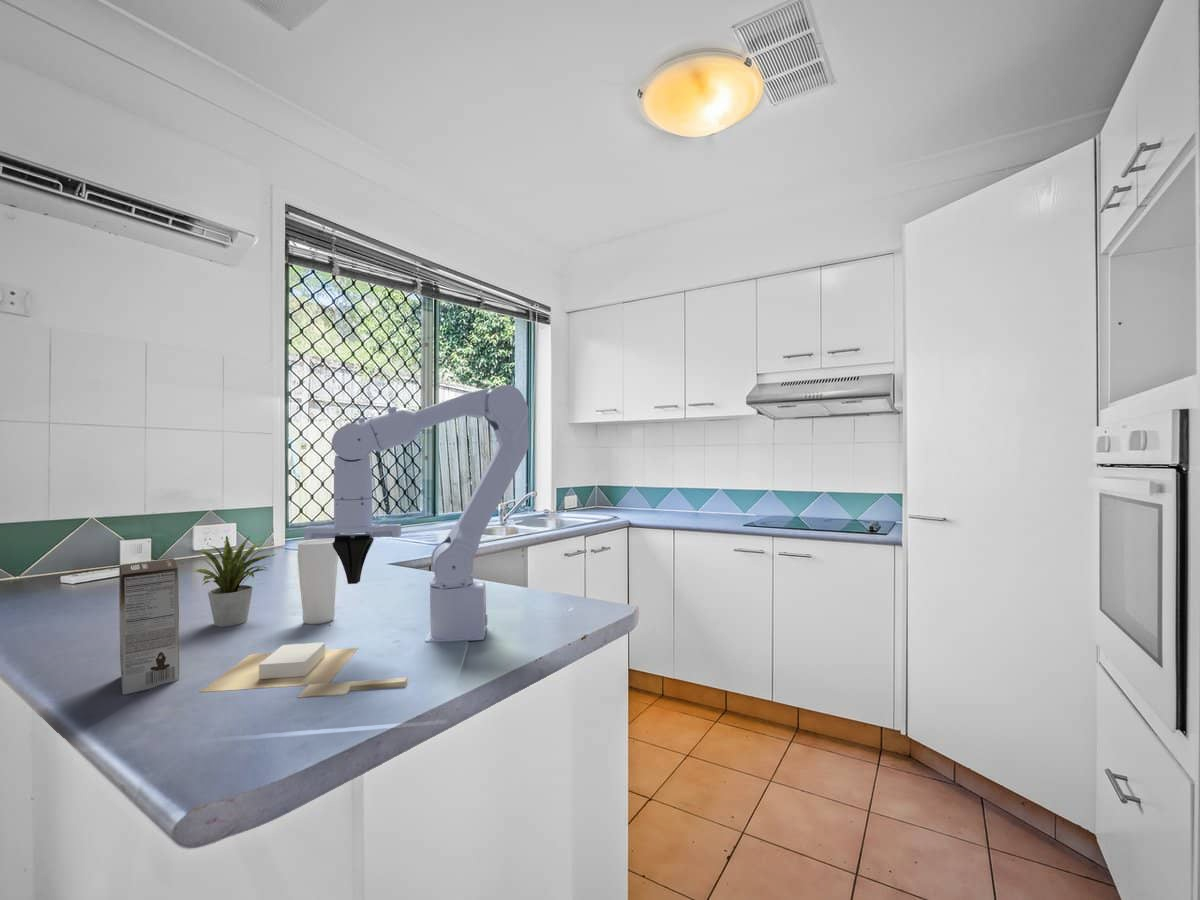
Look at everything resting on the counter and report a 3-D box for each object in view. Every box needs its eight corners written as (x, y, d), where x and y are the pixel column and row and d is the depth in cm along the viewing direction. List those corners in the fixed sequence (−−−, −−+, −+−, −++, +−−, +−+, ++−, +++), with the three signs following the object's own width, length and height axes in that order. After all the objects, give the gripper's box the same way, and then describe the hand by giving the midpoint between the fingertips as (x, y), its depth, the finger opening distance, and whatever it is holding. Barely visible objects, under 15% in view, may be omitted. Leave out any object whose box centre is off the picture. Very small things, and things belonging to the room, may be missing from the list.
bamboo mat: (358, 650, 90) (358, 647, 90) (328, 686, 76) (328, 683, 76) (250, 656, 88) (250, 654, 88) (199, 695, 74) (199, 692, 74)
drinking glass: (307, 616, 109) (306, 539, 109) (344, 615, 110) (343, 538, 110) (291, 627, 103) (290, 544, 103) (330, 626, 103) (329, 543, 103)
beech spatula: (409, 680, 78) (409, 673, 78) (403, 693, 74) (403, 685, 74) (308, 689, 76) (308, 681, 76) (297, 702, 72) (296, 694, 72)
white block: (325, 642, 87) (283, 644, 86) (305, 661, 79) (258, 664, 78) (325, 656, 86) (283, 658, 86) (305, 676, 79) (259, 679, 78)
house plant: (241, 636, 98) (240, 542, 98) (162, 637, 98) (161, 542, 98) (288, 613, 112) (287, 530, 112) (219, 613, 112) (218, 531, 112)
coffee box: (119, 676, 81) (118, 563, 81) (175, 664, 85) (174, 557, 85) (121, 696, 74) (120, 573, 74) (181, 682, 78) (180, 566, 78)
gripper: (404, 496, 97) (405, 575, 97) (315, 497, 95) (315, 578, 95) (395, 499, 90) (396, 585, 90) (298, 501, 88) (299, 588, 88)
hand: (353, 582), depth 92 cm, fingers closed
